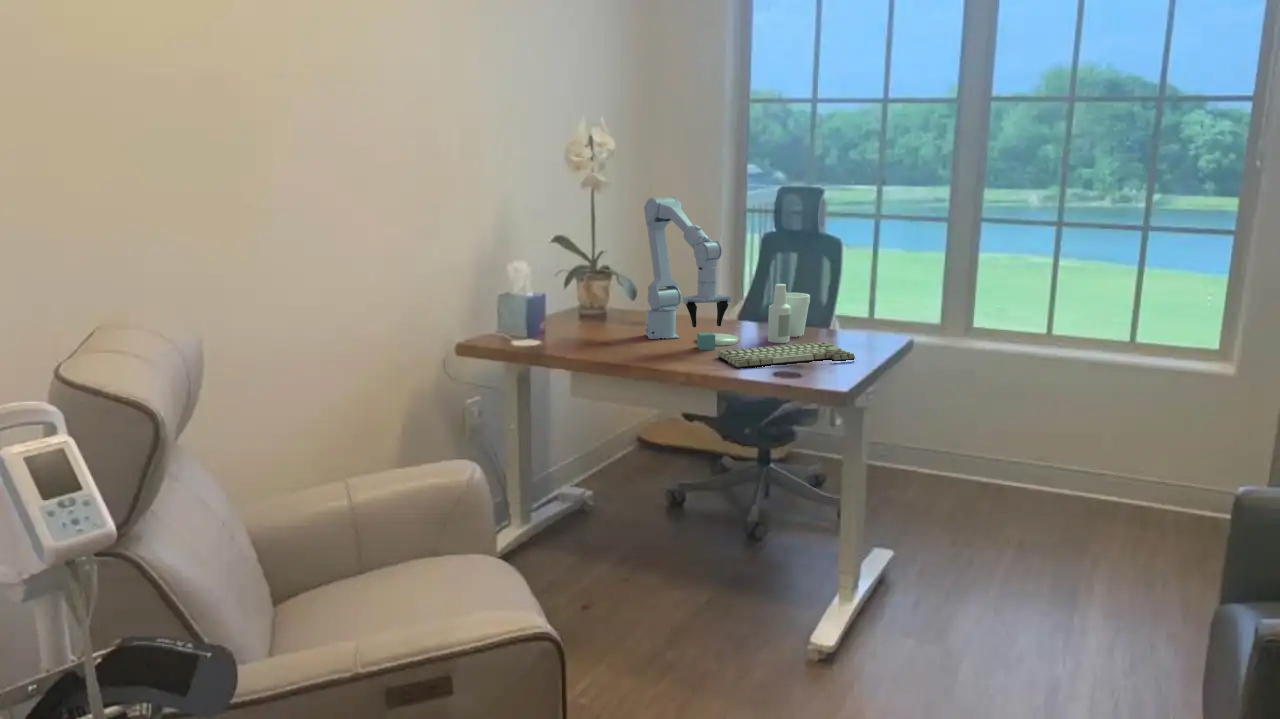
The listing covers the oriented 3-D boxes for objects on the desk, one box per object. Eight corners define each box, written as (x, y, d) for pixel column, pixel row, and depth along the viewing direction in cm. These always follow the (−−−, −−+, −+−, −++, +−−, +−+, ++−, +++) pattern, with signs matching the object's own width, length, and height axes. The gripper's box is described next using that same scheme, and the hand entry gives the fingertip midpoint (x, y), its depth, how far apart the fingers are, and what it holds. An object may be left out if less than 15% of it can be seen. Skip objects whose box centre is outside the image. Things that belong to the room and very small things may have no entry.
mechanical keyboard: (741, 374, 280) (741, 362, 279) (713, 359, 297) (713, 348, 297) (860, 364, 292) (860, 352, 291) (826, 351, 310) (827, 340, 309)
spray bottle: (788, 344, 315) (791, 286, 311) (766, 343, 316) (768, 285, 312) (790, 339, 321) (792, 283, 317) (768, 338, 323) (770, 282, 319)
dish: (702, 346, 311) (702, 342, 311) (692, 337, 323) (692, 334, 323) (743, 344, 313) (743, 341, 313) (732, 336, 326) (732, 332, 325)
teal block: (700, 350, 306) (700, 335, 305) (697, 347, 310) (697, 332, 309) (715, 349, 307) (715, 335, 306) (711, 346, 311) (711, 332, 310)
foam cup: (809, 337, 324) (811, 297, 321) (780, 337, 324) (782, 297, 321) (805, 331, 333) (807, 292, 330) (777, 331, 334) (779, 292, 331)
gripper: (686, 284, 299) (686, 329, 302) (734, 283, 301) (733, 327, 305) (681, 280, 306) (680, 325, 309) (727, 279, 308) (727, 323, 311)
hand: (706, 326), depth 307 cm, fingers open, 7 cm apart
